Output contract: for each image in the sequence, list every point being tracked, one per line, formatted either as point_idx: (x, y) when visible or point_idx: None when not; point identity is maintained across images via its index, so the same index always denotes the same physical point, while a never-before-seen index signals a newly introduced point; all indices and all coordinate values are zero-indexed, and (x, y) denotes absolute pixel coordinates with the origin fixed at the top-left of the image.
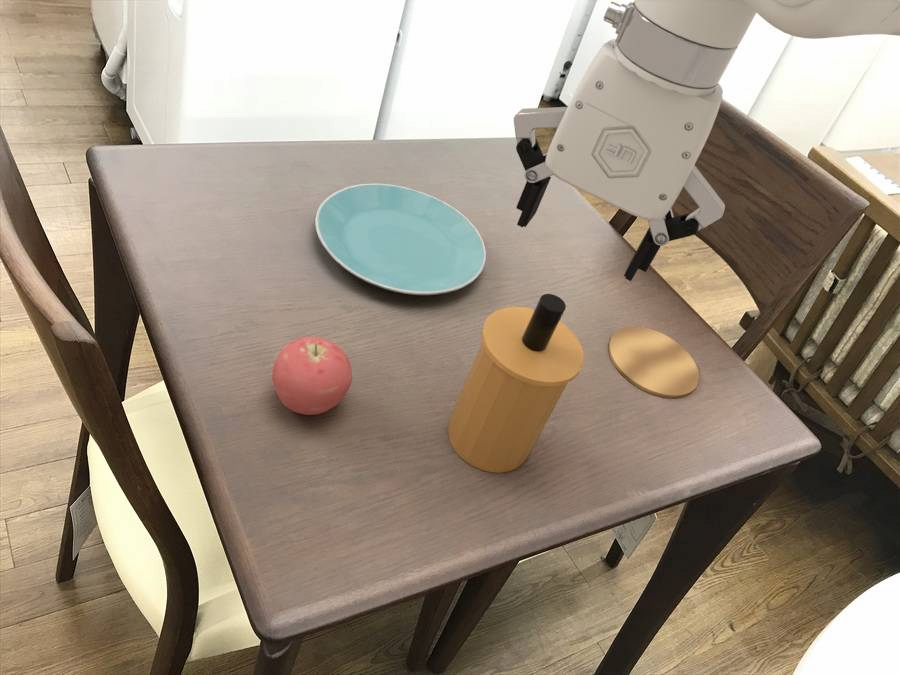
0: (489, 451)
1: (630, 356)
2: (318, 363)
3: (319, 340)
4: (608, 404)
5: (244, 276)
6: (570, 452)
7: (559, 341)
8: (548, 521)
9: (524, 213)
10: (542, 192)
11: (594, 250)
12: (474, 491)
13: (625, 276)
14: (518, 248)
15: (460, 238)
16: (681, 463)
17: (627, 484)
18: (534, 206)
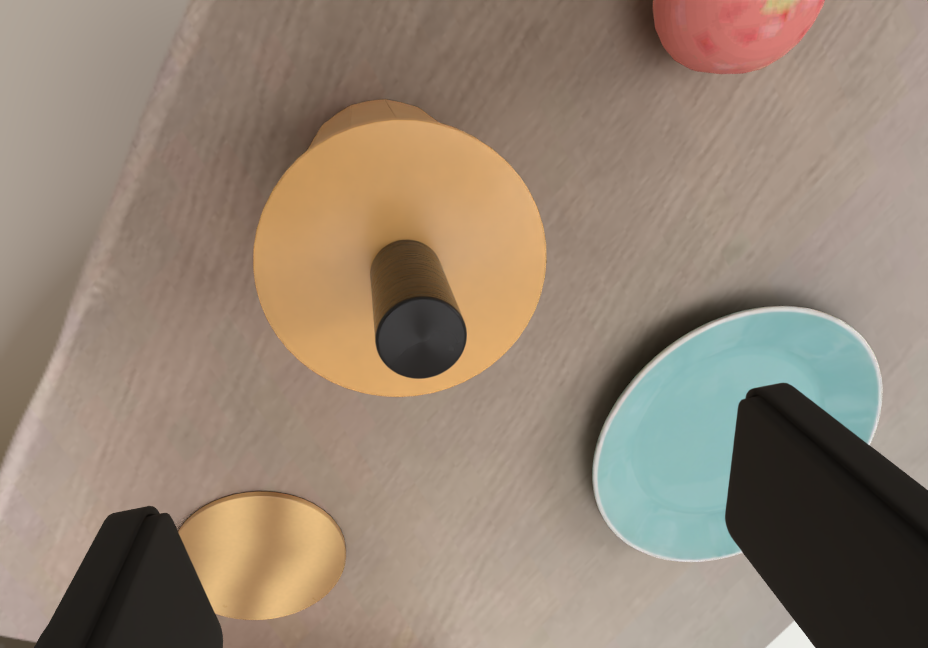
0: (354, 108)
1: (295, 535)
2: None
3: (788, 24)
4: (264, 421)
5: (905, 176)
6: (251, 273)
7: (357, 333)
8: (183, 90)
9: (826, 429)
10: (854, 609)
11: None
12: (334, 46)
13: (152, 514)
14: (565, 581)
15: (654, 520)
16: (84, 408)
17: (126, 289)
18: (827, 495)
